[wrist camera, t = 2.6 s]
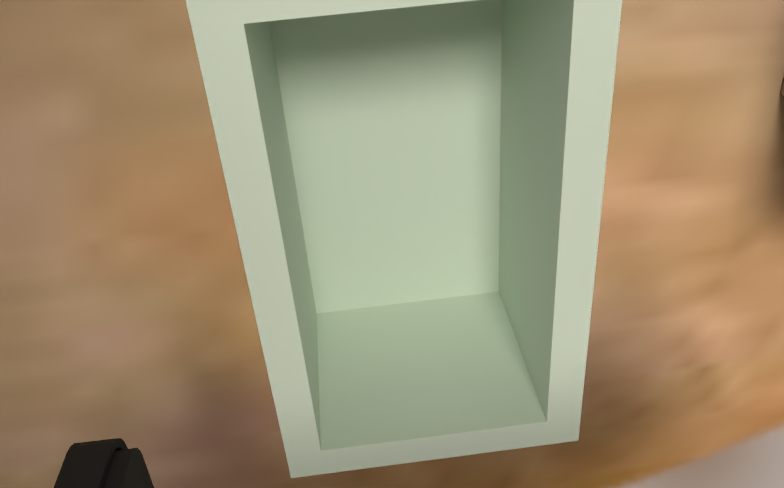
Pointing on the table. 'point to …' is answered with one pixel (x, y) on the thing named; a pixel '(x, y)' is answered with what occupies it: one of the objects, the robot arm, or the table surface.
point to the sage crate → (415, 214)
